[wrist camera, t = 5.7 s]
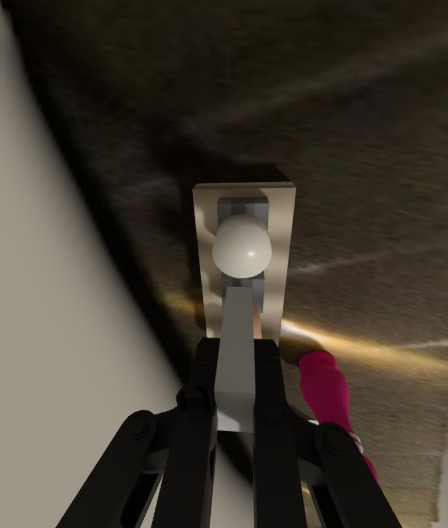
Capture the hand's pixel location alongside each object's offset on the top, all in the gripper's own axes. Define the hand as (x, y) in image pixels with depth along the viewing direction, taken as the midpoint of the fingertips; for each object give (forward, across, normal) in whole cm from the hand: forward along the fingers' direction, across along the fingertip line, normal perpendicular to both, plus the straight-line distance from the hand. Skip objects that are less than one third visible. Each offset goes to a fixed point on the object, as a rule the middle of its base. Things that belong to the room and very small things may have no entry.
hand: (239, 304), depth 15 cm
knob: (+12, 0, 0) cm, 12 cm away
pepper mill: (+18, +13, -27) cm, 35 cm away
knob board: (+18, 0, -9) cm, 20 cm away
